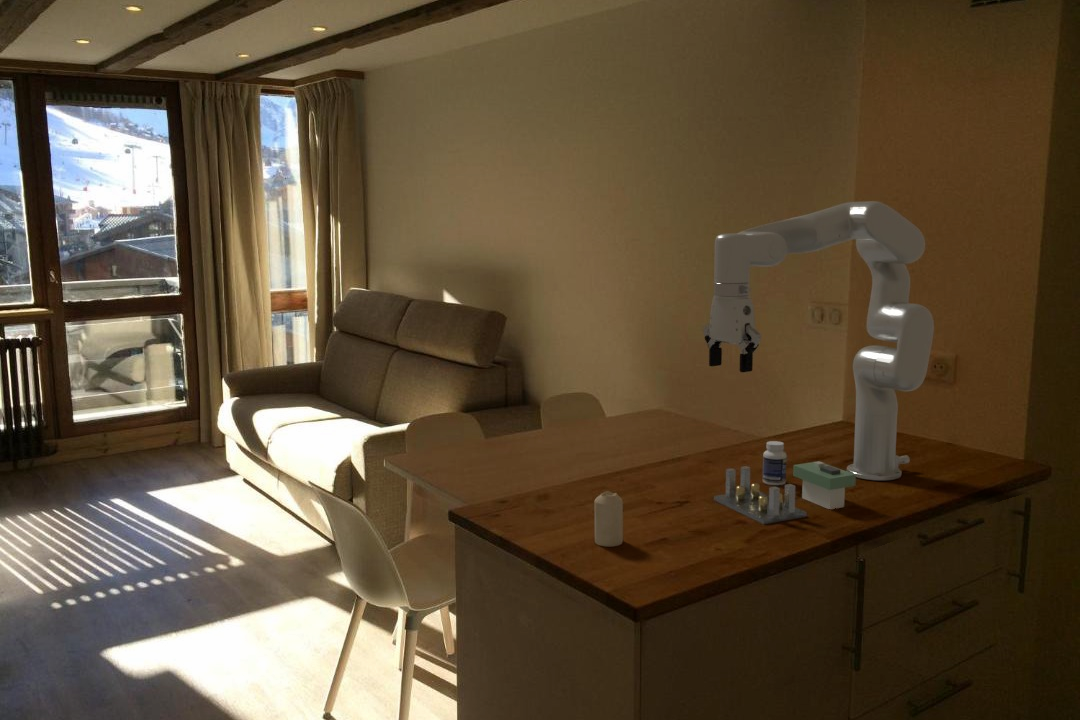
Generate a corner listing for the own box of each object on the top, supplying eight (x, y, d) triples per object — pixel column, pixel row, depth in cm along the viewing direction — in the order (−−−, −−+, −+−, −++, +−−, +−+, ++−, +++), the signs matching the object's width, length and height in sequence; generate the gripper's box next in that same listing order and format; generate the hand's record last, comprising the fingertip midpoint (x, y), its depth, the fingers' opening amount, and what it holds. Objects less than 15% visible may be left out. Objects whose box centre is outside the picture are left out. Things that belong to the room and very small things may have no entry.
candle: (592, 537, 180) (592, 489, 178) (620, 536, 180) (619, 488, 179) (596, 547, 174) (596, 498, 173) (625, 546, 175) (624, 496, 173)
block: (816, 495, 204) (816, 474, 203) (844, 506, 196) (844, 484, 195) (802, 498, 203) (802, 476, 202) (829, 509, 194) (830, 487, 194)
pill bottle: (786, 486, 212) (787, 446, 210) (763, 485, 213) (764, 445, 211) (785, 479, 217) (786, 440, 215) (762, 479, 218) (763, 439, 216)
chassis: (754, 493, 207) (754, 464, 205) (806, 516, 190) (807, 484, 189) (713, 500, 202) (714, 470, 201) (763, 524, 186) (764, 491, 185)
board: (817, 471, 205) (818, 457, 205) (855, 485, 194) (855, 471, 194) (793, 475, 203) (793, 461, 202) (829, 490, 192) (830, 475, 191)
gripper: (773, 292, 190) (771, 372, 192) (717, 287, 204) (716, 362, 207) (747, 294, 186) (745, 375, 189) (692, 289, 201) (691, 365, 203)
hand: (730, 368), depth 198 cm, fingers open, 9 cm apart
